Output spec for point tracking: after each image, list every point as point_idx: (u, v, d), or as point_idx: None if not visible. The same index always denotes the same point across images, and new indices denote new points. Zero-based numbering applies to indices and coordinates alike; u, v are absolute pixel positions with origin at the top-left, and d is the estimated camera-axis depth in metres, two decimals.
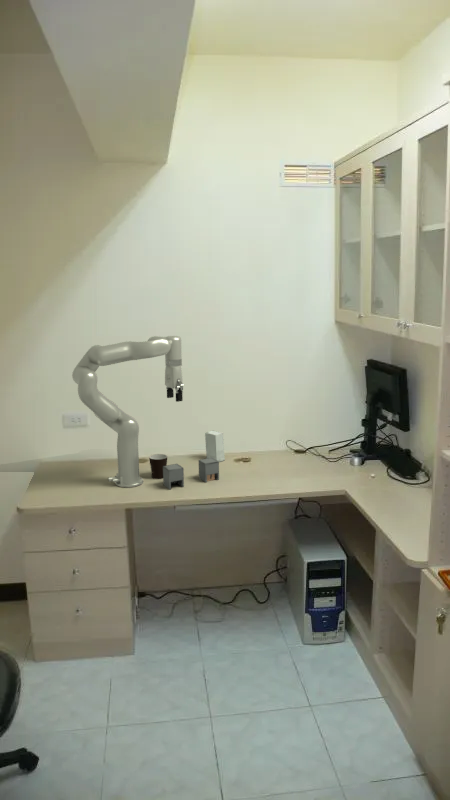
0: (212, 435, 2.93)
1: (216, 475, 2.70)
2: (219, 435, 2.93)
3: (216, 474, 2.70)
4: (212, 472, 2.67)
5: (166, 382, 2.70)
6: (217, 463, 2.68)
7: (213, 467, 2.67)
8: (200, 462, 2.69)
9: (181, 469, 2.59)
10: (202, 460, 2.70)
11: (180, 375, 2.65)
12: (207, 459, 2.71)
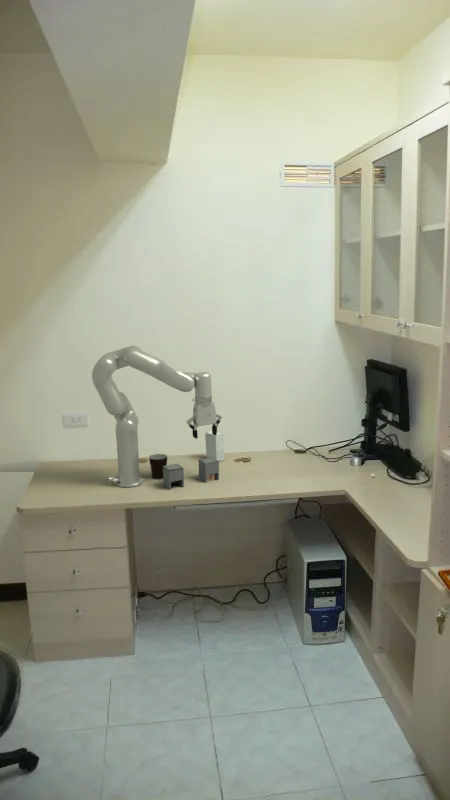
0: (212, 435, 2.93)
1: (216, 475, 2.70)
2: (219, 435, 2.93)
3: (216, 474, 2.70)
4: (212, 472, 2.67)
5: (202, 421, 2.61)
6: (217, 463, 2.68)
7: (213, 467, 2.67)
8: (200, 462, 2.69)
9: (181, 469, 2.59)
10: (202, 460, 2.70)
11: None
12: (207, 459, 2.71)
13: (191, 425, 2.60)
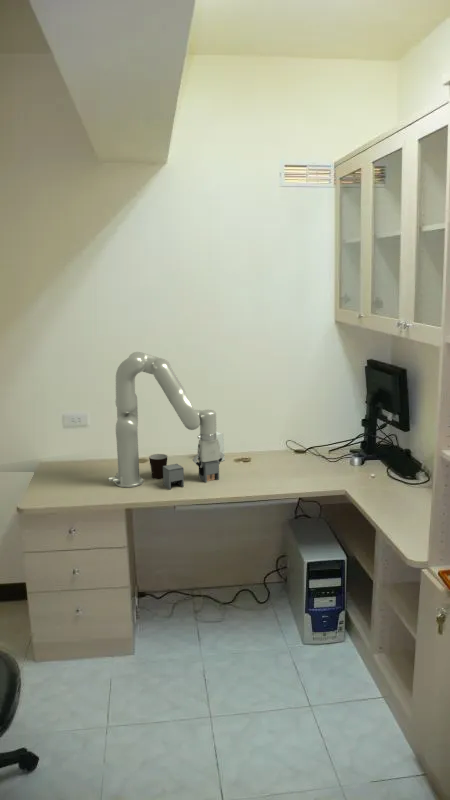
0: None
1: (216, 475, 2.70)
2: (219, 435, 2.93)
3: (216, 474, 2.70)
4: (213, 472, 2.67)
5: (206, 458, 2.65)
6: (217, 463, 2.68)
7: (213, 467, 2.67)
8: None
9: (181, 469, 2.59)
10: None
11: None
12: None
13: (198, 463, 2.66)
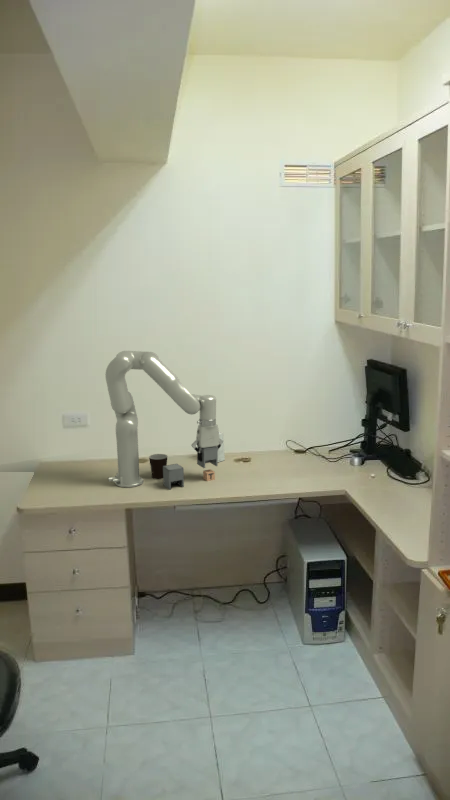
0: None
1: (214, 461, 2.69)
2: (219, 435, 2.93)
3: (214, 460, 2.69)
4: (211, 458, 2.66)
5: (205, 443, 2.64)
6: (216, 449, 2.66)
7: (212, 453, 2.66)
8: None
9: (181, 469, 2.59)
10: None
11: None
12: None
13: (196, 448, 2.64)
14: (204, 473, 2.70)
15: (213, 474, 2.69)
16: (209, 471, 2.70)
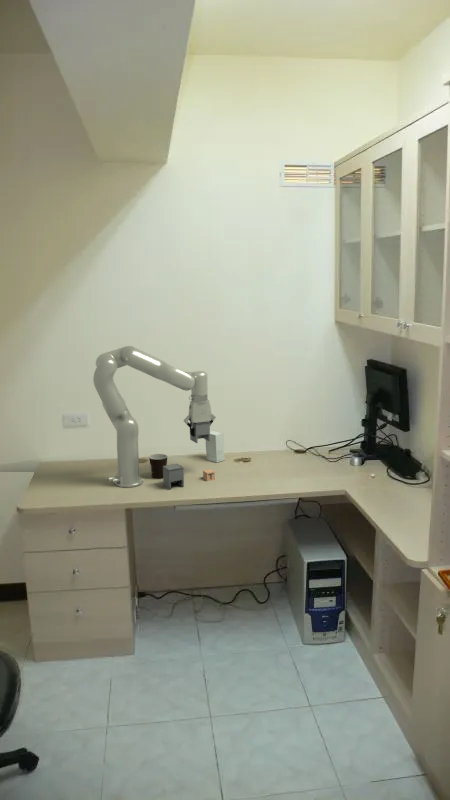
0: (212, 435, 2.93)
1: (207, 436, 2.74)
2: (219, 435, 2.93)
3: (207, 435, 2.74)
4: (203, 433, 2.71)
5: (197, 418, 2.69)
6: (208, 424, 2.71)
7: (204, 428, 2.71)
8: None
9: (181, 469, 2.59)
10: None
11: None
12: None
13: (188, 423, 2.69)
14: (204, 473, 2.70)
15: (213, 474, 2.69)
16: (209, 471, 2.70)
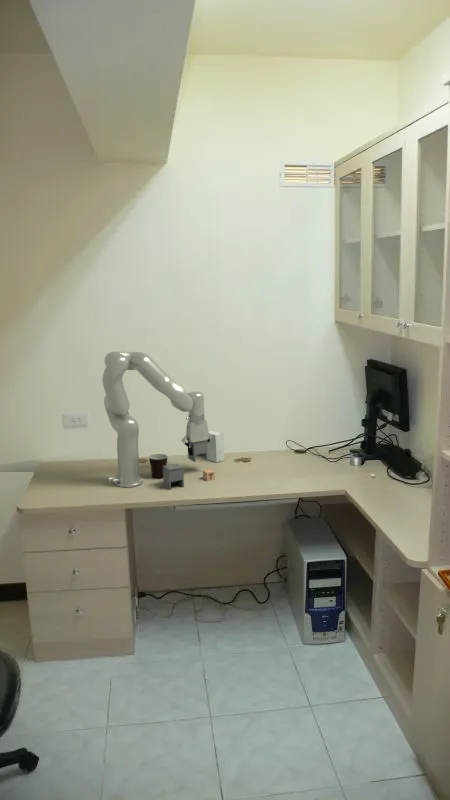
0: (212, 435, 2.93)
1: (205, 455, 2.79)
2: (219, 435, 2.93)
3: (205, 454, 2.79)
4: (201, 452, 2.76)
5: (195, 438, 2.74)
6: (205, 443, 2.77)
7: (201, 447, 2.76)
8: None
9: (181, 469, 2.59)
10: None
11: None
12: None
13: (186, 443, 2.75)
14: (204, 473, 2.70)
15: (213, 474, 2.69)
16: (209, 471, 2.70)
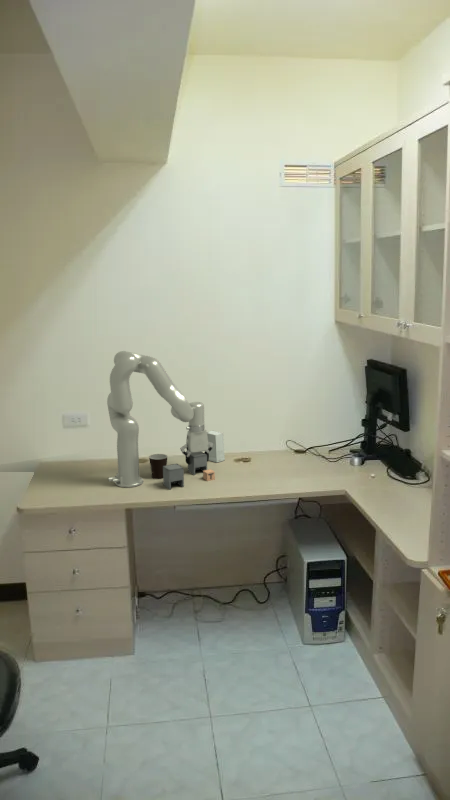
0: (212, 435, 2.93)
1: (204, 468, 2.81)
2: (219, 435, 2.93)
3: (204, 467, 2.80)
4: (201, 465, 2.78)
5: (194, 448, 2.75)
6: (205, 456, 2.78)
7: (201, 460, 2.77)
8: (189, 455, 2.79)
9: (181, 469, 2.59)
10: (191, 453, 2.80)
11: None
12: (196, 453, 2.81)
13: (184, 452, 2.75)
14: (204, 473, 2.70)
15: (213, 474, 2.69)
16: (209, 471, 2.70)
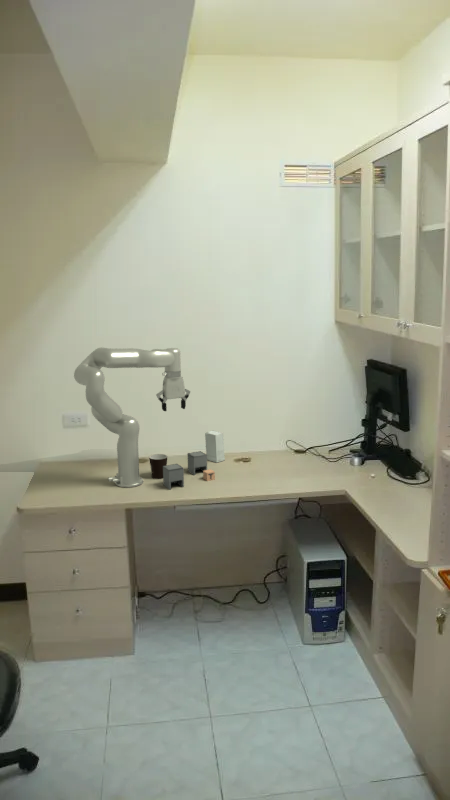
0: (212, 435, 2.93)
1: (204, 468, 2.81)
2: (219, 435, 2.93)
3: (204, 467, 2.80)
4: (201, 465, 2.78)
5: (171, 394, 2.73)
6: (205, 456, 2.78)
7: (201, 460, 2.77)
8: (189, 455, 2.79)
9: (181, 469, 2.59)
10: (191, 453, 2.80)
11: None
12: (196, 453, 2.81)
13: (160, 398, 2.73)
14: (204, 473, 2.70)
15: (213, 474, 2.69)
16: (209, 471, 2.70)
